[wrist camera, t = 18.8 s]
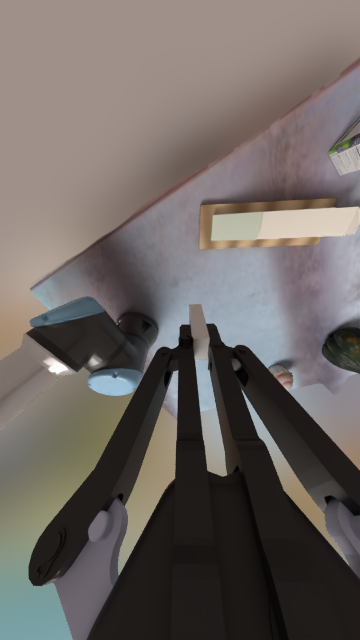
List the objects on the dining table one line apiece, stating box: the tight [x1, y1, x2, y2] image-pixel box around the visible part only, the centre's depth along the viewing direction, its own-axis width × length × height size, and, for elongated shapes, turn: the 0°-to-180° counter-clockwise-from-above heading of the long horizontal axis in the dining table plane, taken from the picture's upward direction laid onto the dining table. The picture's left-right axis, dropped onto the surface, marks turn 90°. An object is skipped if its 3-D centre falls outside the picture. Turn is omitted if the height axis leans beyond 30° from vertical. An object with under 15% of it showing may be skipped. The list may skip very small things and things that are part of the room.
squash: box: [322, 328, 360, 374], centre depth 50 cm, size 14×15×15 cm
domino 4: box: [301, 208, 336, 237], centre depth 32 cm, size 2×5×10 cm
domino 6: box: [345, 208, 360, 235], centre depth 33 cm, size 2×5×10 cm
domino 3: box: [280, 209, 311, 238], centre depth 32 cm, size 2×5×10 cm
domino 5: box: [324, 207, 359, 236], centre depth 32 cm, size 2×5×10 cm
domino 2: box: [257, 210, 288, 239], centre depth 32 cm, size 2×5×10 cm
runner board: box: [199, 198, 338, 249], centre depth 35 cm, size 30×9×1 cm, turn 92°
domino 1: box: [211, 212, 263, 241], centre depth 32 cm, size 2×5×10 cm
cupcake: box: [268, 365, 293, 390], centre depth 60 cm, size 9×9×10 cm
